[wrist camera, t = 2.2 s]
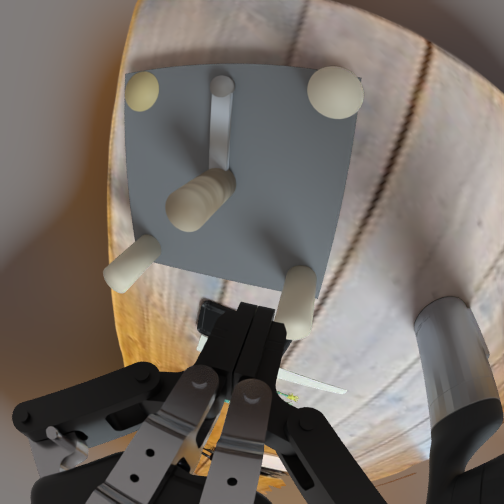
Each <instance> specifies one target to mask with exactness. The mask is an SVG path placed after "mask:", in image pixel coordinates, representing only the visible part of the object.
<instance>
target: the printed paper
mask: <svg viewBox="0 0 504 504" xmlns="http://www.w3.org/2000/svg"><path fill="white" fill-rule="evenodd" d="M207 339H208V338H207V337H205V336H203V335H201V338H200V341H199V344H198V347H197V350H198V351H200V352H201V351H202V349H203V347H204V345H205V343H206V341H207ZM277 378H279V379H283V380H286V381H290V382H294V383H297V384H301V385H305V386H309V387H313V388H317V389H321V390H325V391H329V392H334V393H338V394H344V393H345V392H347V390H344V389H340V388H337V387H334V386H331V385H328V384H324V383H321V382H318V381H315V380H312V379H309V378H306V377H304V376H301V375H298V374H295V373H292V372H289V371H287V370H284V369H281V368H279V371H278V375H277ZM277 393H278V394H282V393H280V392H277ZM282 395H284V394H282ZM284 396H286V397H287V398H289V399H290V400H291V399H293V400H294V401H295V399H294V398H295V397H294V396H293V394H292V395H291V396H290V394H289V396H288V395H284ZM297 397H298V396H297ZM298 399H299V398H298ZM229 401H230V400H226V399H225V401H224V402H227V403H228V402H229ZM296 401H298V400H296ZM296 401H295V402H296ZM297 403H298V402H297ZM228 404H229V403H228ZM290 405H291V404H290Z"/></svg>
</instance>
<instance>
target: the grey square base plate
mask: <svg viewBox="0 0 504 504" xmlns="http://www.w3.org/2000/svg"><path fill="white" fill-rule="evenodd" d="M221 75H223V76H227V77H230V78H232V79H233V80H234V82H235V91H234V93H233V100H232V116H231V132H230V151H229V170H230V171H231V172H232V173H233V175H234V176H235V179H236V189H235V192H234V193H233V194H232V195H231V196H230V197H229V198H228V200H227V201H226V202H225V203H224V204H223V205H222V206H221V207H220V208H219V209H218V210H217V211H216V212H215V213H214V214H213V215H212V216H211V217H210V218H209V219H208V220H207V221H206V222H205V223H204V224H203V226H202V227H201V228H199V229H198V230H196V231H193V232H185V231H182V230H180V229H178V228H176V227H175V226H174V225H173V224H172V223H171V222H170V220H169V219H168V217H167V214H166V210H165V204H166V200H167V198H168V196H169V195H170V194H171V193H173V192H174V191H176V190H177V189H179V188H180V187H182V186H183V185H185V184H186V183H188V182H189V181H191V180H193V179H194V178H196V177H197V176H199V175H201V174H202V173H204V172H205V171H207V170H209V148H210V122H211V102H212V93H211V91H210V83H211V81H212V80H213V79H214V78H215V77H217V76H221ZM363 99H364V91H363V87H362V84H361V78H360V77H356V76H355V75H354V74H353V73H352V72H350V71H349V70H347V69H345V68H342V67H338V66H328V67H324V68H321V69H319V70H316V69H309V68H300V67H291V66H280V65H265V64H202V65H187V66H176V67H167V68H159V69H152V70H145V71H139V72H133V73H128V74H125V147H126V164H127V178H128V189H129V198H130V207H131V215H132V223H133V230H134V237H135V242H134V243H133V244H132V245H131V246H130V247H128V248H127V249H126V250H125V251H124V252H123V253H122V254H120V255H119V256H118V257H117V258H116V259H115V260H114V261H113V262H112V263H110V264H109V265H108V266H107V267H106V268H105V269H104V272H103V275H104V279H105V281H106V282H107V284H108V285H109V286H110V287H111V288H112V289H113V290H114V291H116V292H118V293H125V292H126V291H127V290H128V289H129V287H130V286H131V285H132V284H133V283H134V282H135V281H136V280H137V279H138V278H139V277H140V276H141V275H142V273H143V272H144V271H145V270H146V269H147V268H148V267H149V266H150V265H151V264H152V263H153V262H155V263H159V264H163V265H167V266H171V267H175V268H179V269H183V270H187V271H191V272H196V273H200V274H204V275H209V276H213V277H217V278H222V279H226V280H231V281H235V282H240V283H244V284H249V285H253V286H258V287H263V288H267V289H272V290H277V291H282V294H281V297H280V301H279V305H278V309H277V312H276V316H275V320H274V321H275V322H279V323H284V325H285V328H286V331H287V336H286V339H288V340H300V339H303V338H305V337H307V336H308V335H309V334H310V332H311V327H312V319H313V311H314V302H315V298H317V299H318V296H319V292H320V289H321V285H322V282H323V278H324V274H325V271H326V267H327V263H328V259H329V255H330V251H331V247H332V243H333V239H334V235H335V231H336V226H337V222H338V218H339V213H340V209H341V204H342V199H343V194H344V189H345V184H346V179H347V174H348V169H349V163H350V157H351V152H352V146H353V139H354V133H355V126H356V119H357V112H358V110H359V109H360V107H361V105H362V103H363Z"/></svg>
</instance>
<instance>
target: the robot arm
mask: <svg viewBox="0 0 504 504" xmlns="http://www.w3.org/2000/svg"><path fill="white" fill-rule="evenodd" d="M274 313H275V309H272V308H267V307H262V306H257V305H253V304H248V303H244V302H241V303H240V304H239V307H238V309H237V311H236V313H235V312H230V311H226V312H224V313H223V314H222V315H221V316H219V317H218V319H217V321H216V323H215V325H214V327H213V329H212V331H211V333H210V336H209V337H208V339H207V341H206V343H205V345H204V347H203V349H202V351H201V353H200V355H199V357H198V359H197V361H196V363H195V364H194V365H193V366H191V367H189V368H187V369H186V370H185V371H182V372H159V370H158V368H157V367H156V366H155V365H153V364H151V363H149V362H137V363H134V364H132V365H129V366H127V367H124V368H122V369H119V370H117V371H114V372H111V373H109V374H106V375H103V376H100V377H98V378H95V379H92V380H89V381H87V382H84V383H81V384H78V385H75V386H73V387H70V388H67V389H64V390H61V391H58V392H55V393H51V394H48V395H46V396H42V397H39V398H36V399H33V400H29V401H26V402H22V403H20V404H18V405H17V406H16V407H15V409H14V411H13V415H12V420H13V423H14V426H15V427H16V429H18V430H19V431H20V432H21V433H23V434H24V435H25V436H27V437H28V439H29V442H30V446H31V450H32V454H33V457H34V460H35V463H36V466H37V470H38V473H39V476H40V479H39V480H38V481H36V482H35V484H34V485H33V488H32V490H31V504H272V503H271V502H270V501H269V500H268V499H267V498H266V497H265V496H263V495H262V494H261V493H259V492H257V491H256V490H257V485H258V480H259V475H260V470H261V465H262V460H263V454H264V444H265V445H267V446H268V447H270V448H272V449H274V450H276V453H277V454H278V456H279V458H280V460H281V461H282V463H283V465H284V466H285V468H286V470H287V471H288V473H289V475H290V476H291V478H292V480H293V481H294V483H295V485H296V486H297V488H298V489H299V491H300V492H301V494H302V496H303V497H304V499H305V500H306V502H307V503H308V504H387V503H386V501H385V500H384V499H383V497H382V496H381V495H380V493H379V492H378V491H377V489H376V488H375V487H374V485H373V484H372V483H371V481H370V480H369V478H368V477H367V476H366V474H365V473H364V472H363V470H362V469H361V467H360V466H359V465H358V463H357V462H356V461H355V459H354V458H353V456H352V455H351V454H350V452H349V451H348V449H347V448H346V447H345V445H344V444H343V442H342V441H341V439H340V438H339V437H338V435H337V434H336V432H335V431H334V429H333V428H332V427H331V425H330V424H329V422H328V421H327V419H326V418H325V416H324V415H323V414H322V413H321V412H320V411H318V410H316V409H314V408H310V407H303V408H299V409H298V408H296V407H294V406H292V405H290V404H288V403H286V402H285V401H283V400H282V399H281V398H280V397H279V395H278V393H277V391H276V379H277V375H278V371H279V367H280V363H281V358H282V354H283V350H284V345H285V341H286V336H287V331H286V328H285V325H284V323H279V322H275V321H273V319H274ZM414 329H415V335H416V339H417V343H418V348H419V353H420V358H421V363H422V368H423V374H424V379H425V386H426V392H427V399H428V407H429V415H430V425H431V440H432V442H431V449H430V458H429V460H430V461H429V485H428V493H427V501H426V504H504V454H502V455H500V456H498V457H496V458H494V459H492V460H490V461H488V462H486V463H484V464H482V465H480V466H478V467H475V468H473V469H471V470H469V471H466V472H464V471H465V467H466V465H467V463H468V461H469V460H470V459H471V457H472V456H473V455H474V453H475V452H476V451H477V450H478V449H479V448H480V447H481V446H482V445H483V444H484V443H485V442H486V441H487V440H488V439H489V438H490V437H491V436H492V435H493V434H494V433H495V432H496V431H497V430H498V429H499V427H500V426H501V424H502V421H503V410H502V406H501V402H500V398H499V394H498V390H497V387H496V383H495V380H494V377H493V374H492V371H491V368H490V365H489V362H488V358H489V355H490V354H489V350H488V348H487V345H486V343H485V340H484V338H483V335H482V333H481V330H480V328H479V326H478V323H477V321H476V319H475V317H474V315H473V312H472V310H471V309H470V308H467V307H466V305H465V303H464V302H463V301H462V300H461V299H459V298H456V297H446V298H441V299H439V300H436V301H434V302H433V303H431V304H429V305H428V306H427V307H426V308H424V310H423V311H422V312H421V313H420V314H419V316H418V317H417V319H416V321H415V326H414ZM225 399H226V400H230V404H229V408H228V411H227V415H226V419H225V422H224V426H223V430H222V433H221V436H220V439H219V440H218V442H217V445H216V448H215V451H214V455H213V458H212V462H211V465H210V469H209V472H208V476H207V477H206V476H196V475H192V474H193V472H194V471H195V469H196V467H197V465H198V463H199V460H200V457H201V453H202V450H203V448H204V446H205V444H206V442H207V440H208V438H209V436H210V434H211V432H212V430H213V428H214V426H215V424H216V422H217V420H218V417H219V415H220V411H221V409H222V406H223V404H224V401H225ZM137 430H138V432H137V433H136V435H135V436H134V438H133V439H132V441H131V442H130V444H129V445H128V447H127V448H126V450H125V451H123V452H118V453H114V454H111V455H109V456H106V457H104V458H101V459H98V460H96V461H93V462H90V463H88V464H84V465H81V466H78V467H75V466H76V465H77V464H79V463H81V462H83V461H84V460H86V459H87V457H88V448H91V447H94V446H97V445H99V444H103V443H105V442H108V441H111V440H114V439H117V438H119V437H122V436H125V435H127V434H130V433H132V432H135V431H137Z"/></svg>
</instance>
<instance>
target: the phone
mask: <svg viewBox="0 0 504 504" xmlns="http://www.w3.org/2000/svg"><path fill="white" fill-rule="evenodd" d="M226 311H230V312H235V313H236V311H234V310H231V309H229V308H226V307H224V306H221V305H219V304H216V303H214V302H211V301H205V302H203V304H202V306H201V310H200V315H199V320H198V326H197V330H198V331H199V332H200V333H201V334H203V335H205V336H208V337H209V336H210V333H211V331H212V329H213V327H214V325H215V323H216V321H217V319H218V317H219V316H221V315H222V314H223V313H224V312H226ZM291 342H292V340H288V339H286V341H285V345H284V350H283V354H284V353H285V351H286V350H287V348H288V347H289V345H290V343H291ZM283 354H282V356H283Z"/></svg>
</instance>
